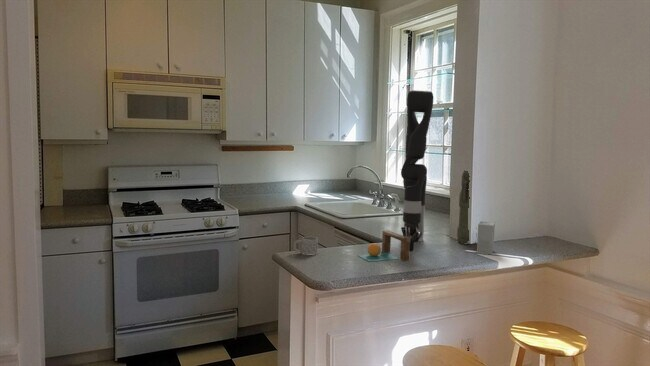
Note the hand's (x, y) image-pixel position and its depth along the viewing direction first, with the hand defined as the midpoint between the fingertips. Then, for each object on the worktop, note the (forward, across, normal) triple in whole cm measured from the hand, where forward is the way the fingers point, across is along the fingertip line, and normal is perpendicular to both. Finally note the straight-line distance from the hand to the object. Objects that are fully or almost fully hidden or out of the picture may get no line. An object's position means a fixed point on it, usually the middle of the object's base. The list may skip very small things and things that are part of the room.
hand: (410, 251), depth 215 cm
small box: (+2, -6, -35) cm, 36 cm away
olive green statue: (+2, +13, -40) cm, 42 cm away
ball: (-1, +2, +16) cm, 17 cm away
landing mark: (+2, 0, +16) cm, 16 cm away
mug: (+2, +15, +42) cm, 45 cm away
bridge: (+2, 0, +8) cm, 8 cm away
